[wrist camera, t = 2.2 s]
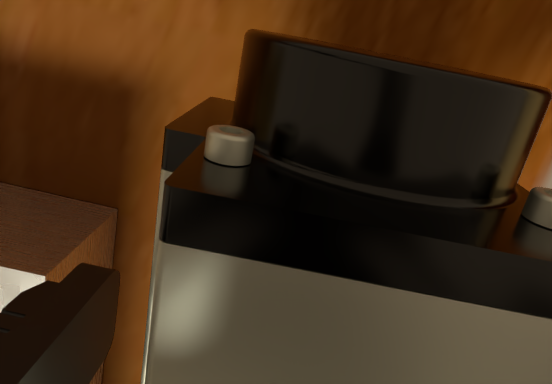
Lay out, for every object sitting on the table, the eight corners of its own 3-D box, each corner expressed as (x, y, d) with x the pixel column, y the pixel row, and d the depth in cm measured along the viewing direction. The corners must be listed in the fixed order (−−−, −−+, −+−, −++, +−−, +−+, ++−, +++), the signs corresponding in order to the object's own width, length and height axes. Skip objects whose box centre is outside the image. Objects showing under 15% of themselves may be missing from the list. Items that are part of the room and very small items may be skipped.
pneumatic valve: (418, 58, 14) (932, 172, 2) (334, 350, 18) (380, 893, 7) (247, 24, 14) (-26, -17, 2) (202, 324, 18) (22, 824, 7)
